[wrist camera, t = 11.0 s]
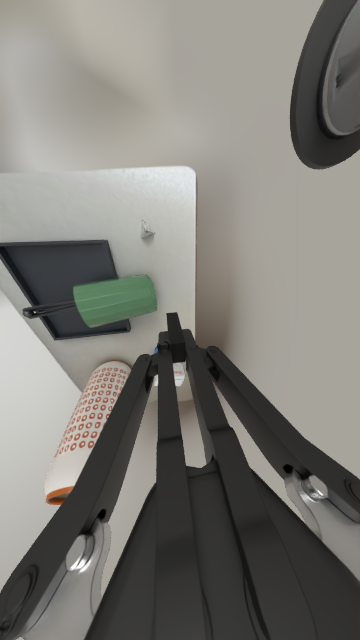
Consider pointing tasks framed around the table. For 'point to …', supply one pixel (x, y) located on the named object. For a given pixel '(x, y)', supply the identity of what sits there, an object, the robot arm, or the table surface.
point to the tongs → (30, 314)
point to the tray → (61, 280)
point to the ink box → (178, 373)
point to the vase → (84, 429)
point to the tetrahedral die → (146, 230)
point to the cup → (115, 299)
